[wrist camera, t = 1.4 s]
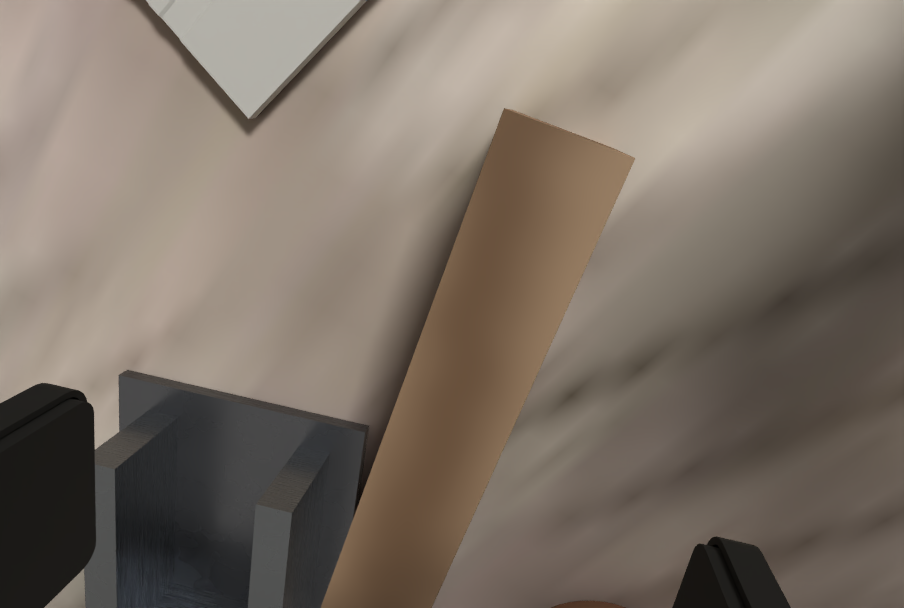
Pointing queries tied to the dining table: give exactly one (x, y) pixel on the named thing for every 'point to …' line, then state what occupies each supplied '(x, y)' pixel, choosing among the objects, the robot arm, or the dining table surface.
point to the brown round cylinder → (588, 605)
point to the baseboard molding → (254, 40)
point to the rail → (477, 357)
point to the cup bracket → (219, 500)
